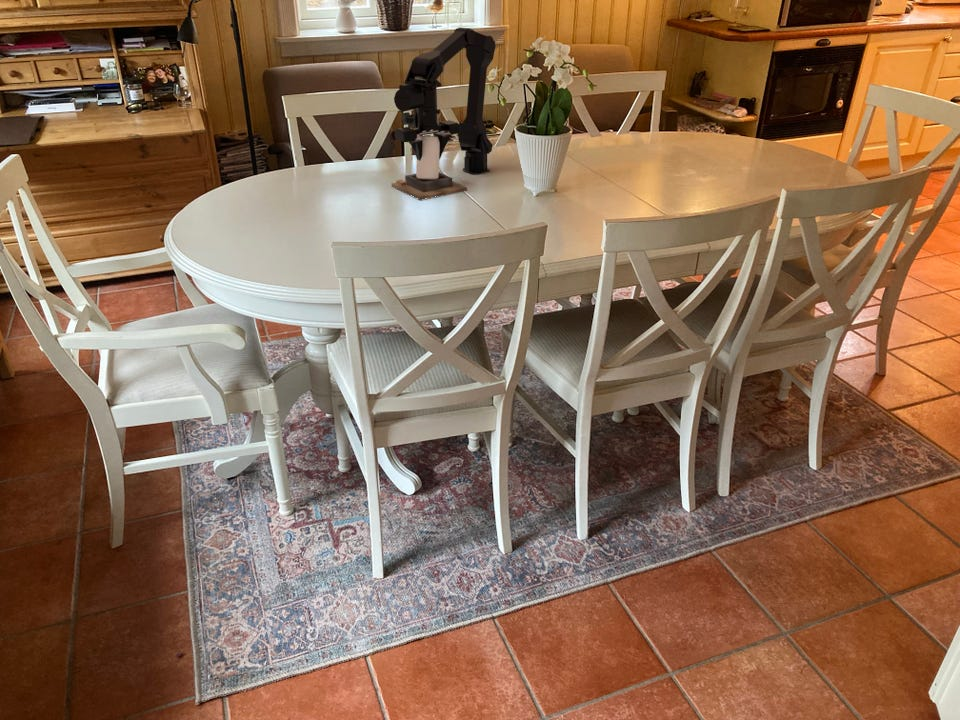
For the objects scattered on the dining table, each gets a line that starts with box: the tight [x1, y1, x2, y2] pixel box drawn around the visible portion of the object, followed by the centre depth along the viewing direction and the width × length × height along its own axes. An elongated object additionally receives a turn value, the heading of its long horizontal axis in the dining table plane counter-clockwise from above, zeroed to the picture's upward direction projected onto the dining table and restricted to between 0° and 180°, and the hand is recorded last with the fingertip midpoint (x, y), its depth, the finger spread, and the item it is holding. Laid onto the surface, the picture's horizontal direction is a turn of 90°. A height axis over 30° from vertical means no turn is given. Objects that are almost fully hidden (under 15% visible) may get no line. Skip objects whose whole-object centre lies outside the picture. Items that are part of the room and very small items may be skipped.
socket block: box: [391, 171, 468, 200], centre depth 220 cm, size 16×16×4 cm
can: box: [415, 135, 440, 180], centre depth 217 cm, size 6×6×12 cm
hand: (429, 161), depth 217 cm, fingers closed on can, 6 cm apart
